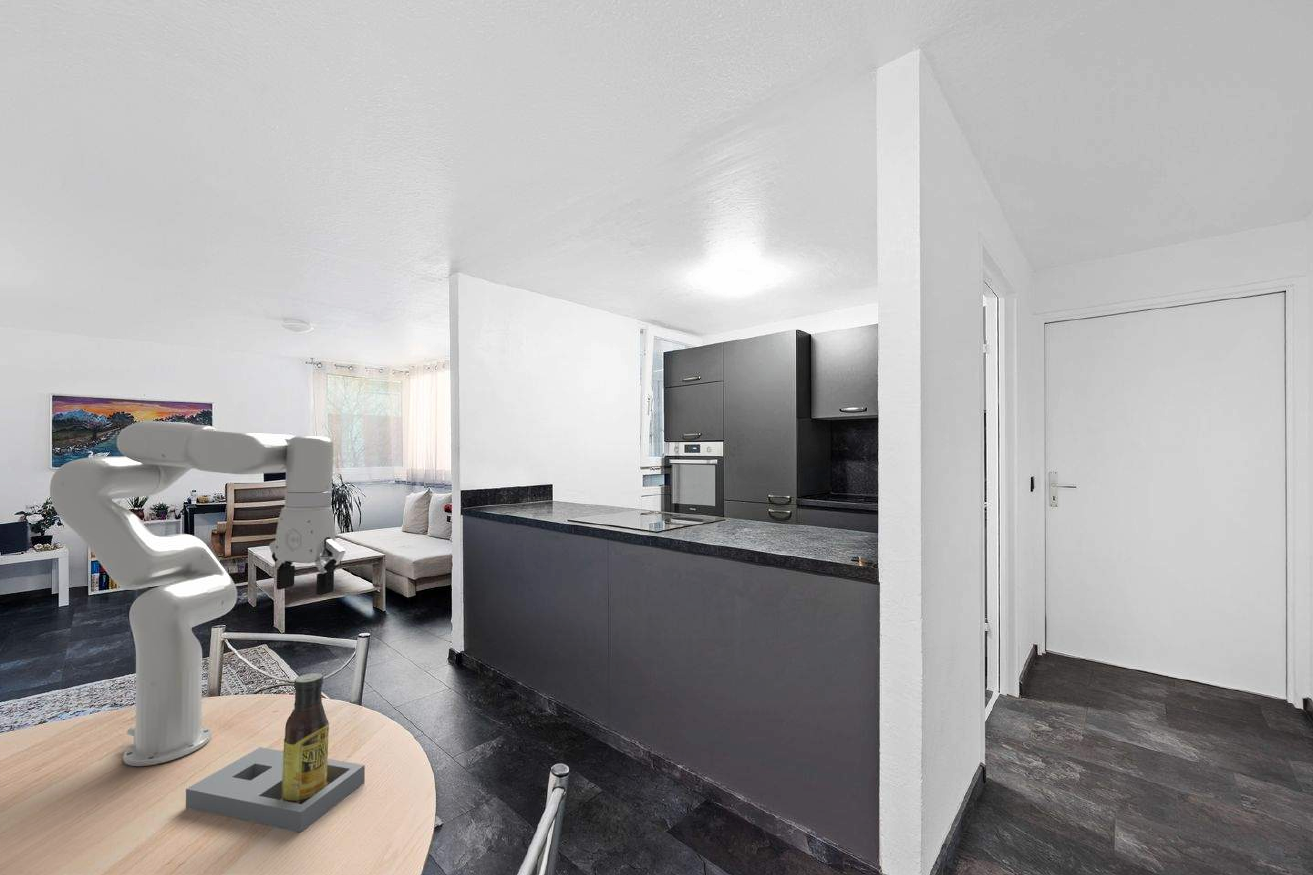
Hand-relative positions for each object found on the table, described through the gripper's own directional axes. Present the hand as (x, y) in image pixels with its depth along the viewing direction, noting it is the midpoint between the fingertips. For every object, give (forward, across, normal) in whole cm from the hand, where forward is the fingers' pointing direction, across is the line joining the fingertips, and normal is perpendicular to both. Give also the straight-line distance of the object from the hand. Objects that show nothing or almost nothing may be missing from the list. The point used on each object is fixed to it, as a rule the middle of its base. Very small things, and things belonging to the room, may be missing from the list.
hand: (304, 590), depth 103 cm
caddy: (+31, +8, -10) cm, 33 cm away
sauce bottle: (+31, +13, -10) cm, 35 cm away
